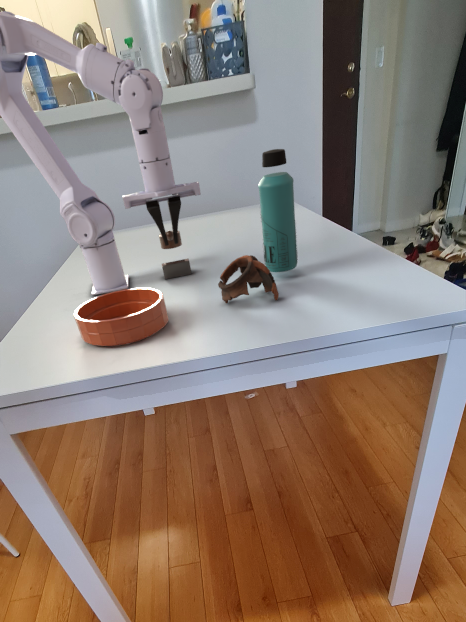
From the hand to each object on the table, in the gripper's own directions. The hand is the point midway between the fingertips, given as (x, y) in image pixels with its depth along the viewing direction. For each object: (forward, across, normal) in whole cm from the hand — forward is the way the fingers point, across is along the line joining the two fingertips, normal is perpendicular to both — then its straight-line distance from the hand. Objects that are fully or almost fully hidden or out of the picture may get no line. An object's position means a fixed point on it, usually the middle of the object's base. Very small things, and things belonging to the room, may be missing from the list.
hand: (171, 243), depth 91 cm
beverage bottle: (+8, +20, -9) cm, 23 cm away
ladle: (+3, 0, +7) cm, 8 cm away
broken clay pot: (+8, +12, -19) cm, 24 cm away
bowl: (+7, -11, -22) cm, 26 cm away
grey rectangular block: (+7, 0, +5) cm, 9 cm away
